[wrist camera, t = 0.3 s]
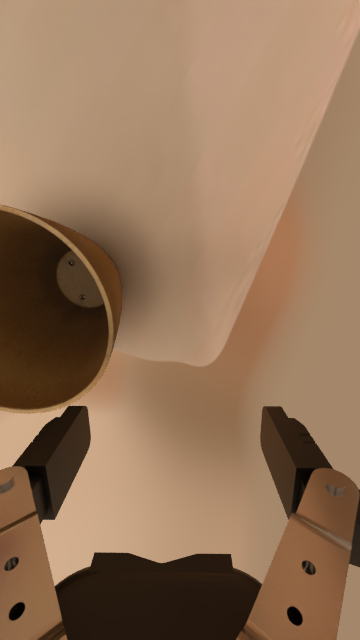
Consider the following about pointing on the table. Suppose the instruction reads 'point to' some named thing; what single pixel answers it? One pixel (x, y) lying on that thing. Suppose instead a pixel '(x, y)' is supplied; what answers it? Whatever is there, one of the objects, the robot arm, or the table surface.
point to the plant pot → (52, 313)
